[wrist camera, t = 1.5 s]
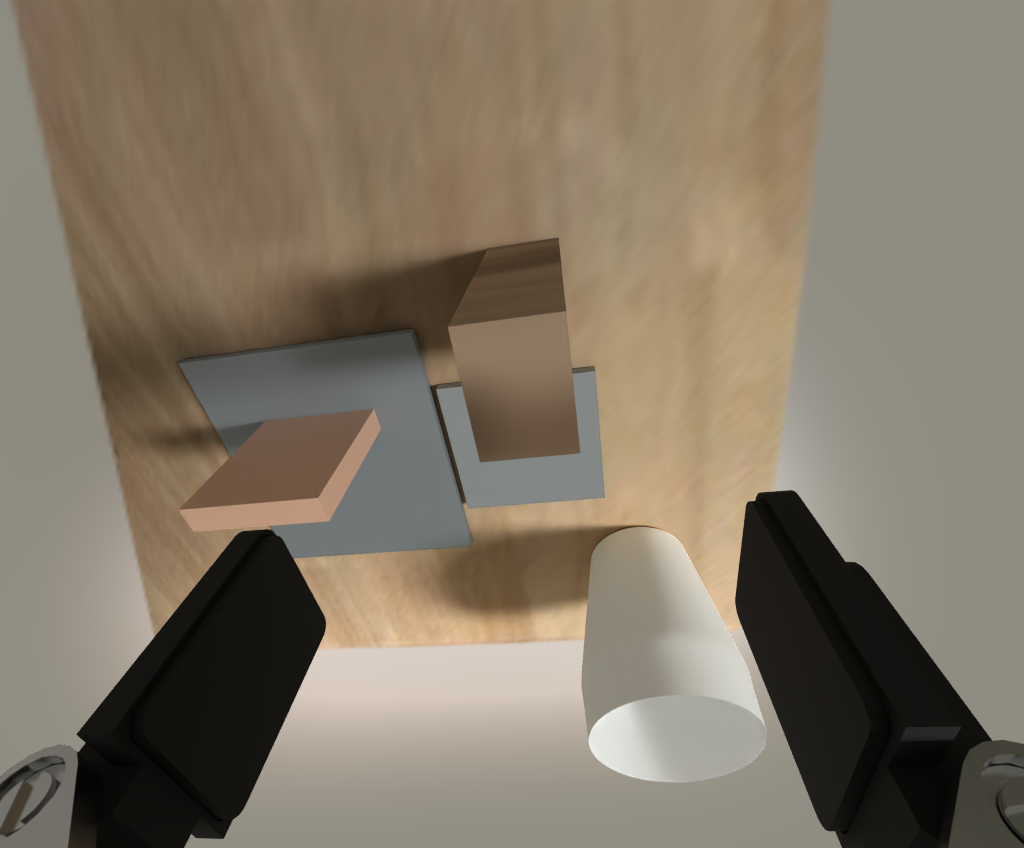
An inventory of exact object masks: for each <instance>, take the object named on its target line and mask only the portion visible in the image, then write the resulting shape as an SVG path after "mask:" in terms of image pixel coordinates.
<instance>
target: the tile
mask: <svg viewBox="0 0 1024 848" xmlns="http://www.w3.org/2000/svg"><path fill="white" fill-rule="evenodd" d="M380 430H381V427H380V425H379V422H378V419H377V416H376V413H375V410H374V409H369V410H360V411H351V412H342V413H333V414H324V415H315V416H306V417H297V418H288V419H279V420H270V421H265V422H264V423H263V424H262V425H261V426H260V427H259V428H258V429H257V430H256V431H255V432H254V433H253V434H252V435H251V436H250V437H249V438H248V439H247V440H246V442H245V443H244V444H243V445H242V446H241V447H240V448H239V449H238V450H237V451H236V452H235V453H234V454H233V455H232V456H231V457H230V458H229V459H228V460H227V461H226V462H225V463H224V464H223V465H222V466H221V467H220V468H219V469H218V470H217V471H216V472H215V473H214V474H213V475H212V476H211V477H210V478H209V479H208V480H207V481H206V482H205V484H204V485H203V486H202V487H201V488H200V489H199V490H198V491H197V492H196V493H195V494H194V495H193V496H192V497H191V498H190V499H189V500H188V501H187V502H186V503H185V504H184V505H183V506H182V507H181V508H180V509H179V511H180V513H181V514H182V515H183V517H184V518H185V520H186V521H187V523H188V524H189V526H190V527H191V529H192V530H193V531H194V532H197V531H210V530H223V529H236V528H249V527H261V526H274V525H287V524H300V523H313V522H325V521H330V519H331V517H332V515H333V514H334V512H335V510H336V508H337V506H338V505H339V503H340V501H341V499H342V498H343V496H344V494H345V492H346V490H347V489H348V487H349V485H350V483H351V481H352V480H353V478H354V476H355V474H356V473H357V471H358V469H359V467H360V465H361V464H362V462H363V460H364V458H365V457H366V455H367V453H368V451H369V449H370V448H371V446H372V444H373V442H374V440H375V439H376V437H377V435H378V433H379V432H380Z"/></svg>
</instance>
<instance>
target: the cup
mask: <svg viewBox="0 0 1024 848" xmlns="http://www.w3.org/2000/svg"><path fill="white" fill-rule="evenodd" d="M582 693H583V699H584V706H585V714H586V722H587V731H588V739H589V746H590V749H591V751H592V753H593V754H594V756H595V757H596V758H597V759H598V760H599V761H600V762H601V763H603V764H604V765H606V766H607V767H609V768H610V769H613V770H615V771H617V772H619V773H621V774H624V775H627V776H630V777H634V778H638V779H643V780H649V781H657V782H692V781H700V780H707V779H712V778H716V777H720V776H724V775H727V774H730V773H732V772H735V771H737V770H739V769H741V768H743V767H745V766H747V765H748V764H750V763H751V762H753V761H754V760H755V759H756V758H757V757H759V756H760V754H761V753H762V752H763V750H764V749H765V747H766V744H767V740H768V734H767V730H766V727H765V724H764V721H763V717H762V714H761V711H760V708H759V705H758V702H757V698H756V696H755V692H754V688H753V685H752V681H751V677H750V673H749V670H748V668H747V666H746V664H745V661H744V659H743V657H742V655H741V653H740V652H739V650H738V648H737V646H736V644H735V642H734V640H733V638H732V636H731V635H730V633H729V631H728V629H727V627H726V625H725V623H724V622H723V620H722V618H721V616H720V614H719V612H718V610H717V609H716V607H715V605H714V603H713V601H712V599H711V597H710V596H709V594H708V592H707V590H706V588H705V586H704V584H703V583H702V581H701V579H700V577H699V575H698V573H697V571H696V570H695V568H694V566H693V564H692V562H691V560H690V558H689V557H688V555H687V553H686V551H685V549H684V547H683V546H682V544H681V543H680V541H679V540H678V539H677V538H675V537H674V536H673V535H671V534H669V533H667V532H665V531H663V530H659V529H656V528H650V527H633V528H627V529H623V530H620V531H617V532H615V533H613V534H610V535H609V536H607V537H606V538H604V539H603V540H602V541H601V542H600V543H599V544H598V545H597V546H596V547H595V549H594V551H593V553H592V556H591V565H590V577H589V590H588V602H587V614H586V627H585V639H584V652H583V665H582Z"/></svg>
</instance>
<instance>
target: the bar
mask: <svg viewBox="0 0 1024 848" xmlns="http://www.w3.org/2000/svg"><path fill="white" fill-rule="evenodd" d="M448 331H449V335H450V339H451V343H452V347H453V352H454V356H455V360H456V364H457V368H458V372H459V377H460V381H461V385H462V389H463V393H464V398H465V402H466V406H467V410H468V414H469V419H470V423H471V427H472V431H473V435H474V439H475V444H476V448H477V452H478V456H479V460H480V463H481V462H492V461H503V460H514V459H525V458H535V457H546V456H557V455H568V454H579V453H580V443H579V434H578V424H577V414H576V404H575V395H574V385H573V375H572V365H571V356H570V346H569V336H568V326H567V316H566V307H565V297H564V287H563V278H562V268H561V258H560V248H559V239H558V238H554V239H548V240H541V241H535V242H528V243H522V244H515V245H509V246H502V247H496V248H489V249H487V251H486V253H485V255H484V257H483V259H482V261H481V263H480V265H479V267H478V268H477V270H476V272H475V274H474V276H473V278H472V280H471V282H470V284H469V286H468V288H467V290H466V292H465V294H464V296H463V298H462V300H461V302H460V304H459V306H458V308H457V310H456V312H455V313H454V315H453V317H452V319H451V321H450V323H449V325H448Z"/></svg>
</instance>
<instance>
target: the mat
mask: <svg viewBox="0 0 1024 848" xmlns="http://www.w3.org/2000/svg"><path fill="white" fill-rule="evenodd" d="M178 364H179V366H180V368H181V370H182V371H183V373H184V375H185V377H186V378H187V380H188V382H189V384H190V385H191V387H192V389H193V391H194V392H195V394H196V396H197V398H198V400H199V401H200V403H201V405H202V407H203V408H204V410H205V412H206V414H207V415H208V417H209V419H210V421H211V422H212V424H213V426H214V428H215V429H216V431H217V433H218V435H219V436H220V438H221V440H222V442H223V443H224V445H225V447H226V449H227V451H228V452H229V454H230V456H232V455H233V454H234V453H235V452H236V451H237V450H238V449H239V448H240V447H241V446H242V445H243V444H244V443H245V442H246V440H247V439H248V438H249V437H250V436H251V435H252V434H253V433H254V432H255V431H256V430H257V429H258V428H259V427H260V426H261V425H262V424H263V423H264V422H265V421H270V420H279V419H288V418H297V417H306V416H315V415H324V414H333V413H342V412H351V411H360V410H369V409H374V410H375V413H376V416H377V419H378V422H379V425H380V427H381V430H380V432H379V433H378V435H377V437H376V439H375V440H374V442H373V444H372V446H371V448H370V449H369V451H368V453H367V455H366V457H365V458H364V460H363V462H362V464H361V465H360V467H359V469H358V471H357V473H356V474H355V476H354V478H353V480H352V481H351V483H350V485H349V487H348V489H347V490H346V492H345V494H344V496H343V498H342V499H341V501H340V503H339V505H338V506H337V508H336V510H335V512H334V514H333V515H332V517H331V519H330V521H325V522H313V523H300V524H287V525H274V526H271V528H272V530H273V531H274V533H275V534H276V535H277V536H280V537H281V538H282V539H283V541H284V542H285V544H286V546H287V548H288V550H289V552H290V554H291V555H292V557H293V558H307V557H322V556H336V555H351V554H366V553H381V552H396V551H411V550H426V549H440V548H455V547H470V546H472V541H473V540H472V536H471V532H470V529H469V525H468V522H467V518H466V514H465V511H464V507H463V504H462V500H461V496H460V493H459V489H458V486H457V482H456V478H455V475H454V471H453V467H452V464H451V460H450V457H449V453H448V449H447V446H446V442H445V439H444V435H443V431H442V428H441V424H440V421H439V417H438V413H437V410H436V406H435V403H434V399H433V395H432V392H431V388H430V385H429V381H428V377H427V374H426V370H425V367H424V363H423V359H422V356H421V352H420V349H419V345H418V341H417V338H416V334H415V331H414V329H407V330H400V331H393V332H385V333H378V334H370V335H363V336H355V337H348V338H340V339H333V340H325V341H318V342H311V343H303V344H296V345H288V346H281V347H273V348H266V349H258V350H251V351H244V352H236V353H229V354H221V355H214V356H206V357H199V358H191V359H185V360H183V361H182V362H180V363H178Z"/></svg>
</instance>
